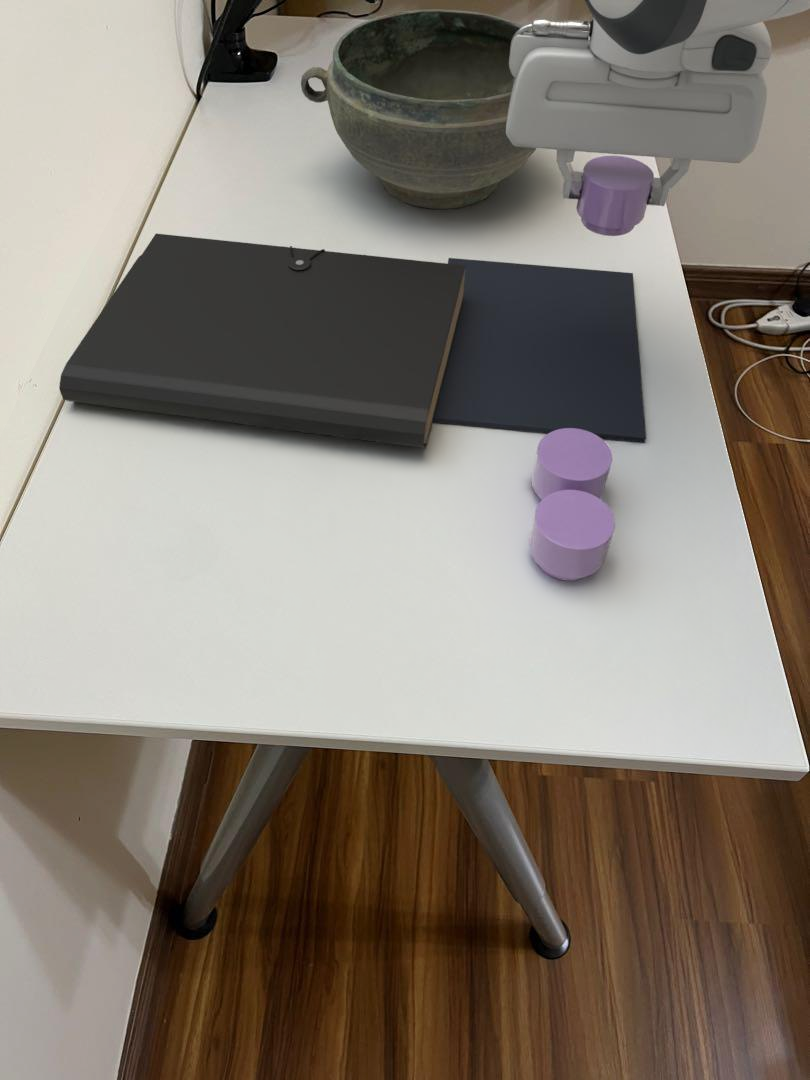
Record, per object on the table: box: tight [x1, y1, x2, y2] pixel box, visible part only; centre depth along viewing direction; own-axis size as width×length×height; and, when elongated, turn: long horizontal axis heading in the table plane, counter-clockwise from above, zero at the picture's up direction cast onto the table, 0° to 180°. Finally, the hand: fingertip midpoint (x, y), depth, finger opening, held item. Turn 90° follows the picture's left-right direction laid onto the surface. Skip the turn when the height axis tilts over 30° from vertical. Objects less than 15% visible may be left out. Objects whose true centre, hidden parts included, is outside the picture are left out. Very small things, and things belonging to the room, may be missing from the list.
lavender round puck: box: [575, 155, 655, 237], centre depth 74 cm, size 6×6×5 cm
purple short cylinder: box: [531, 428, 613, 501], centre depth 70 cm, size 6×6×5 cm
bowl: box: [300, 8, 538, 210], centre depth 99 cm, size 32×26×15 cm
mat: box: [432, 257, 647, 443], centre depth 84 cm, size 20×26×1 cm
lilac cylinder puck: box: [528, 490, 616, 581], centre depth 65 cm, size 6×6×5 cm
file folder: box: [59, 233, 466, 449], centre depth 81 cm, size 33×4×24 cm
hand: (613, 199), depth 74 cm, fingers closed on lavender round puck, 6 cm apart
